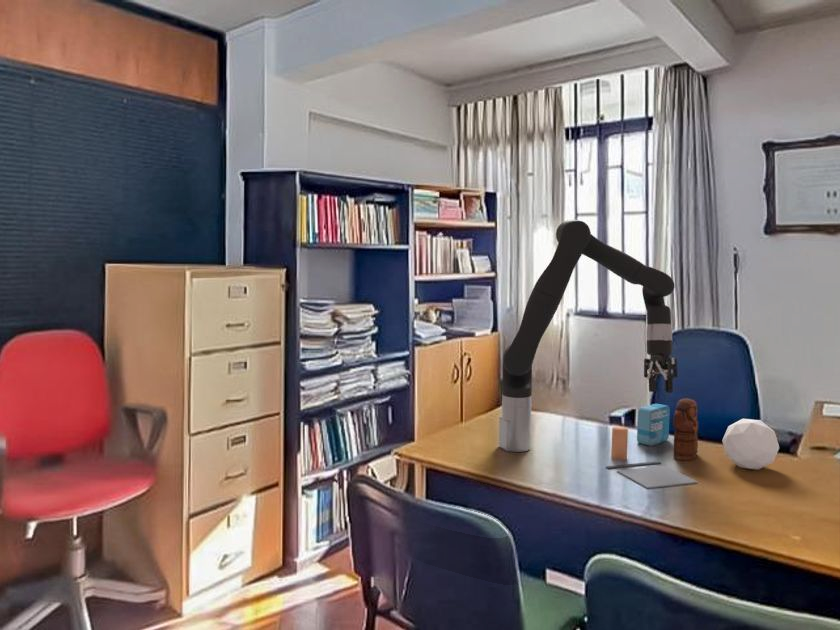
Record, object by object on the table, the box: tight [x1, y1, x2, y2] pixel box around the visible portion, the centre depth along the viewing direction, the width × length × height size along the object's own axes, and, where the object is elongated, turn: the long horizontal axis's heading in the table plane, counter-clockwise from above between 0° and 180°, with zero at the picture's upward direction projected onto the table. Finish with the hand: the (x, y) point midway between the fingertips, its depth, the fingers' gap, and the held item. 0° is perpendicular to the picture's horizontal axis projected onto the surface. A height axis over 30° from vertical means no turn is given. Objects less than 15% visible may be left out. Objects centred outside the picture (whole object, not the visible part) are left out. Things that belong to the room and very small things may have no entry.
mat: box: [605, 460, 699, 490], centre depth 187 cm, size 18×18×1 cm
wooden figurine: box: [672, 397, 700, 461], centre depth 204 cm, size 12×6×18 cm, turn 146°
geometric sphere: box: [721, 418, 780, 471], centre depth 194 cm, size 14×15×15 cm
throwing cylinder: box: [610, 426, 629, 461], centre depth 202 cm, size 5×5×9 cm
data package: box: [636, 403, 671, 447], centre depth 219 cm, size 12×4×12 cm, turn 129°
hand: (660, 392), depth 203 cm, fingers open, 8 cm apart
